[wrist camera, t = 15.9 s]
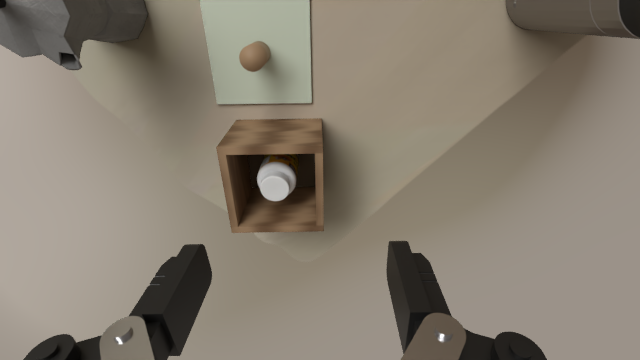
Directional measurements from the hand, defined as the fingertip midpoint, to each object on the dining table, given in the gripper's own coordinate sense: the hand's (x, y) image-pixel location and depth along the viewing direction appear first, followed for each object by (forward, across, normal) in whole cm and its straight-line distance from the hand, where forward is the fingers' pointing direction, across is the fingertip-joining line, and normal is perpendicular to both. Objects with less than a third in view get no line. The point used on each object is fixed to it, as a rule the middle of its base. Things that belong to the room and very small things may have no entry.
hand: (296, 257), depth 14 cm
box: (+36, +6, +12) cm, 38 cm away
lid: (+36, +8, -5) cm, 38 cm away
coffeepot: (+36, +27, -12) cm, 46 cm away
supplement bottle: (+36, +6, +12) cm, 38 cm away
